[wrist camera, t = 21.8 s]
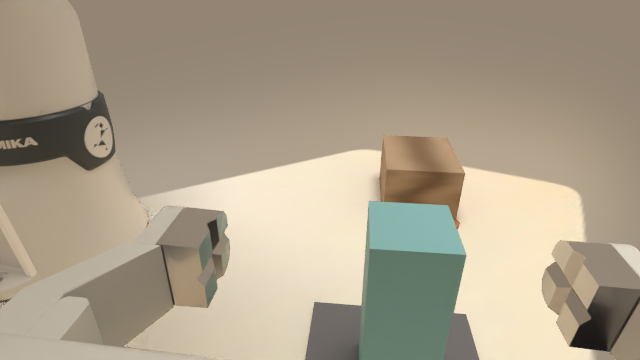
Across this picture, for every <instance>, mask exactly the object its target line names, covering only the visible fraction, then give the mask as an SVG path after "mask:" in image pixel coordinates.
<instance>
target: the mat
mask: <svg viewBox="0 0 640 360" xmlns="http://www.w3.org/2000/svg"><path fill="white" fill-rule="evenodd" d="M360 320H361V306H357V305H344V304H332V303H320V302H315V303H314V309H313V316H312V322H311V328H310V334H309V341H308V347H307V353H306V359H305V360H359V334H360ZM443 360H479V357H478V354H477V350H476V347H475V344H474V340H473V337H472V333H471V330H470V327H469V323H468V320H467V316H466V314H456V313H453V318H452V322H451V327H450V331H449V336H448V340H447V345H446V349H445V354H444V358H443Z"/></svg>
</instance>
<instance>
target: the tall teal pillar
mask: <svg viewBox="0 0 640 360" xmlns="http://www.w3.org/2000/svg"><path fill="white" fill-rule="evenodd" d="M465 259H466V253H465V250H464V247H463V244H462V242H461V239H460V236H459V233H458V231H457V228H456V225H455V223H454V220H453V217H452V214H451V212H450V209H449V206H448V205H432V204H414V203H395V202H376V201H369V207H368V221H367V235H366V249H365V264H364V278H363V292H362V306H361V320H360V334H359V360H443V358H444V354H445V349H446V345H447V340H448V336H449V331H450V327H451V322H452V318H453V313H454V309H455V304H456V300H457V295H458V291H459V286H460V281H461V277H462V272H463V268H464V263H465Z"/></svg>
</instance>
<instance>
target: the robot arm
mask: <svg viewBox="0 0 640 360" xmlns="http://www.w3.org/2000/svg"><path fill="white" fill-rule="evenodd" d="M147 223H148V216H147V213H146V211H145V210H144V208H143V207H142V205H141V204H140V202H139V201H138V199H137V198H136V195H135V194H134V192H133V190H132V188H131V186H130V184H129V182H128V180H127V177H126V175H125V173H124V171H123V168H122V166H121V164H120V161H119V159H118V156H117V153H116V150H115V140H114V133H113V127H112V123H111V119H110V115H109V112H108V108H107V105H106V102H105V98H104V95H103V94H102V93H101V92H100V91H98V90H97V87H96V83H95V80H94V76H93V72H92V68H91V64H90V60H89V57H88V53H87V49H86V45H85V41H84V38H83V34H82V30H81V27H80V22H79V19H78V16H77V14H76V12H75V11H74V9H73V7H72V6H71V5H70V3H69V2H68V1H67V0H0V300H7V299H10V298H11V299H10V300H9V301H8V302H7V303H6V304H5V305H4V306H2V307H1V308H0V360H229V359H220V358H212V357H203V356H195V355H186V354H178V353H169V352H160V351H152V350H143V349H135V348H126V347H123V346H124V345H125V344H127V343H128V342H129V341H131V340H132V339H133V338H134V337H136V336H137V335H138V334H140V333H141V332H142V331H143V330H145V329H146V328H147V327H149V326H150V325H151V324H153V323H154V322H155V321H156V320H158V319H159V318H160V317H162V316H163V315H164V314H165V313H167V312H168V311H169V310H171V309H172V308H173V307H174V306H173V305H176V306H189V307H202V308H208V307H209V305H210V302H211V300H212V298H213V296H214V294H215V292H216V290H217V279H218V278H220V277H221V276H223V275H224V273H225V271H226V268H227V265H228V261H229V256H230V243H229V239H228V238H227V236H226V235H225V234H224V231H225V229H226V228H227V226H228V224H227V217H226V214H225V213H224V211H216V210H207V209H198V208H188V207H187V208H185V207H177V206H166V207H163V208H162V209H161V211H160V212H159V213H158V214H157V215H156V216H155V217H154V219H153V220H152V221H151V222H150V223H149V224H148V226H147ZM146 226H147V227H146ZM552 256H553V258H554V260H555V262H554V263H553V264H551V265H550V266H548V267H547V268H546V269H545V272H544V275H543V278H542V293H543V297H544V300H545V302H546V304H547V306H548V308H550V309H551V310H552V311H554V312H555V313H556V314H558V315H559V317H558V319H557V322H556V323H557V325H558V327H559V329H560V331H561V333H562V334H563V336H564V338H565V340H566V342H567V344H568V346H569V347H576V348H584V349H592V350H599V351H607V352H610V353H609V354H610V355H611V356H613V357H614V358H615V359H616V360H640V252H639V251H638V250H637V249H636V248H635V247H633V246H631V245H628V244H611V243H605V244H602V243H588V242H575V241H561V240H560V241H559V242H558V243H557V244H556V245H555V247H554V249H553V252H552Z"/></svg>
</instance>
